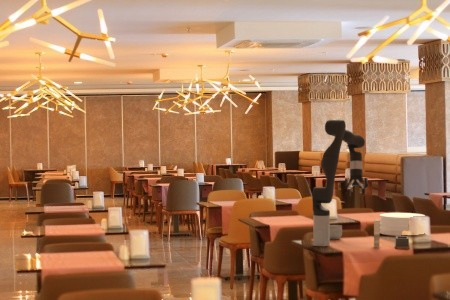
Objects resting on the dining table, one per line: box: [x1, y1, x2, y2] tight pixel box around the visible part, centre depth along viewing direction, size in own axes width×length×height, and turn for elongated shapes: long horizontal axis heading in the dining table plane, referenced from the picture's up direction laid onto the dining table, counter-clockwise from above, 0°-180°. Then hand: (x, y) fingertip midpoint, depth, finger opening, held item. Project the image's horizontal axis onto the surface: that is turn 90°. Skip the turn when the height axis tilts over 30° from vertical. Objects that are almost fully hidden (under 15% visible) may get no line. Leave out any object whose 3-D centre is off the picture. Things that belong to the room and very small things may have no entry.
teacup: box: [330, 224, 343, 240], centre depth 545 cm, size 14×11×8 cm
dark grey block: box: [394, 236, 411, 250], centre depth 508 cm, size 10×8×6 cm
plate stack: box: [379, 212, 426, 237], centre depth 571 cm, size 28×28×12 cm
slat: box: [373, 219, 381, 248], centre depth 511 cm, size 5×3×15 cm, turn 170°
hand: (356, 195), depth 550 cm, fingers open, 8 cm apart
